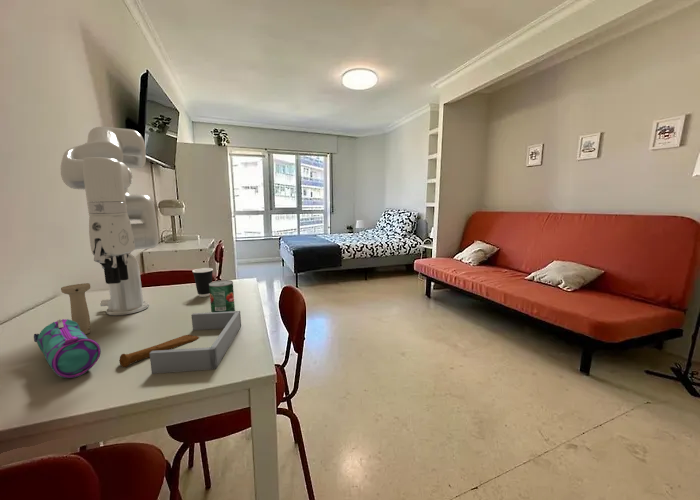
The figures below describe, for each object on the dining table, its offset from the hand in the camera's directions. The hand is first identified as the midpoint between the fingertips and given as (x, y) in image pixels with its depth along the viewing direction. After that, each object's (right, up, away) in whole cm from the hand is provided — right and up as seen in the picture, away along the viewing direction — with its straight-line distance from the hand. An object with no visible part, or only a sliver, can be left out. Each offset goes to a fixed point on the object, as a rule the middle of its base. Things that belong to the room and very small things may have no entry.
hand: (117, 280), depth 78 cm
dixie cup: (-2, -11, +52) cm, 53 cm away
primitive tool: (+9, -20, +4) cm, 22 cm away
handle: (-21, -18, +14) cm, 30 cm away
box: (+20, -18, +5) cm, 27 cm away
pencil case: (-9, -20, -3) cm, 23 cm away
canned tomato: (+14, -15, +31) cm, 37 cm away
